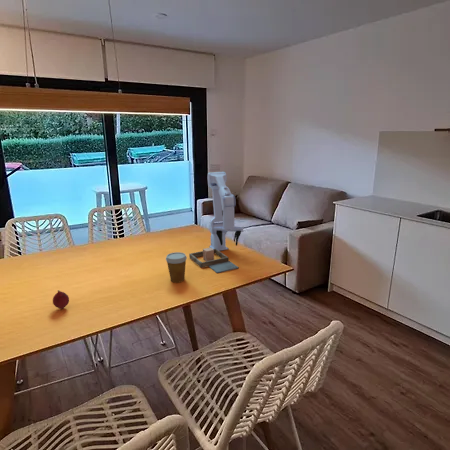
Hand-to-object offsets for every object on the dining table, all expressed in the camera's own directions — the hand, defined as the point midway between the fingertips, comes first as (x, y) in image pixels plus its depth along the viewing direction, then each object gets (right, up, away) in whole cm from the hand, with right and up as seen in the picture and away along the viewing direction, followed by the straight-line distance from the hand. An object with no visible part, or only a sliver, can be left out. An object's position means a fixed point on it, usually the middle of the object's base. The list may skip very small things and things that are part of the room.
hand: (229, 244), depth 175 cm
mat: (-3, -11, -3) cm, 12 cm away
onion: (-66, -23, -40) cm, 81 cm away
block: (-11, -8, +7) cm, 15 cm away
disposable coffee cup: (-24, -15, -16) cm, 33 cm away
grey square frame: (-11, -8, +7) cm, 15 cm away
